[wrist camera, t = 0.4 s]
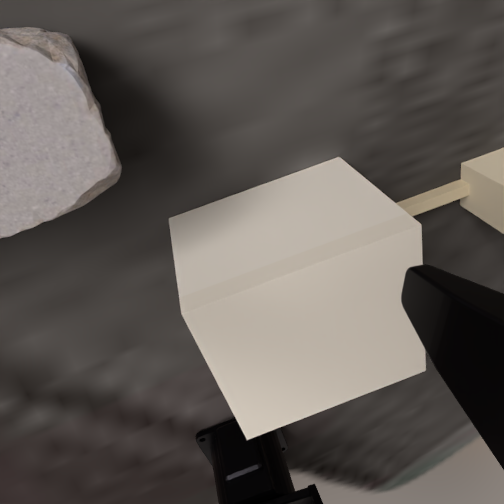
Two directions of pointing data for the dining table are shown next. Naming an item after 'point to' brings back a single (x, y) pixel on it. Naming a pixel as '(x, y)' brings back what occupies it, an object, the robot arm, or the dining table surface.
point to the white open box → (299, 293)
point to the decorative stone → (48, 131)
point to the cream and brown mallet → (469, 191)
